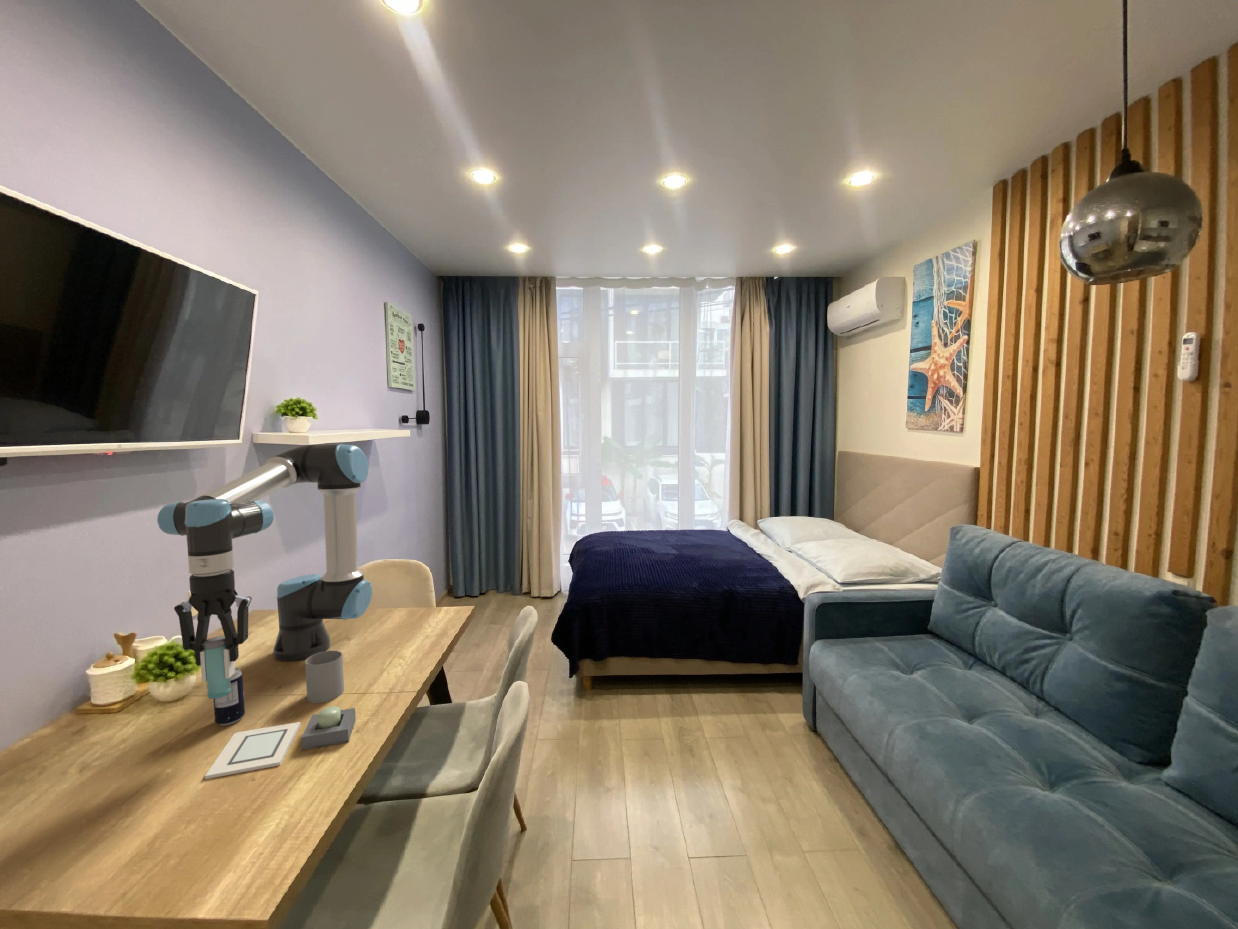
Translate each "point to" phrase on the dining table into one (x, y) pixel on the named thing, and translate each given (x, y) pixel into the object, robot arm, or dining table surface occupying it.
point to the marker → (216, 667)
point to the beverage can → (231, 702)
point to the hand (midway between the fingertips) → (218, 676)
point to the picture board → (254, 750)
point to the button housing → (328, 731)
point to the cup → (324, 676)
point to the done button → (329, 717)
